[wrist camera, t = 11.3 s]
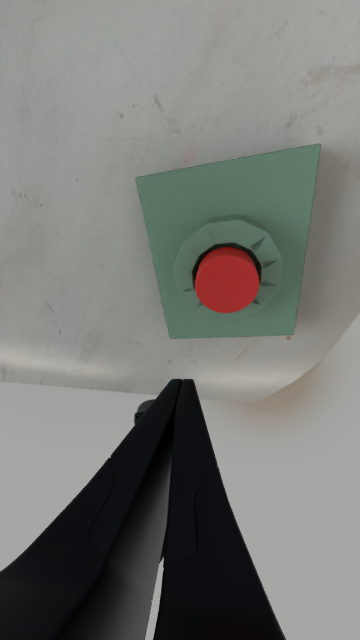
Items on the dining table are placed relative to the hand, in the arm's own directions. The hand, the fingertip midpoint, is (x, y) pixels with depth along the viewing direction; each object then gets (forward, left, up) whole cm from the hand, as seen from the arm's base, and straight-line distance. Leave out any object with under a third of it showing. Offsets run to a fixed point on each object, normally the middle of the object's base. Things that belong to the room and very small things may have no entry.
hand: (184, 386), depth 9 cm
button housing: (+1, -2, -12) cm, 12 cm away
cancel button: (+1, -2, -8) cm, 8 cm away
